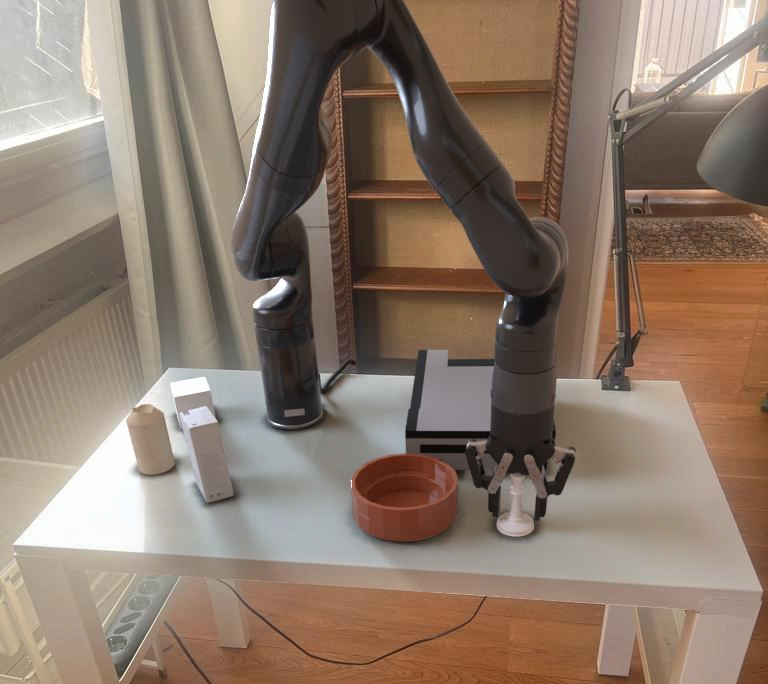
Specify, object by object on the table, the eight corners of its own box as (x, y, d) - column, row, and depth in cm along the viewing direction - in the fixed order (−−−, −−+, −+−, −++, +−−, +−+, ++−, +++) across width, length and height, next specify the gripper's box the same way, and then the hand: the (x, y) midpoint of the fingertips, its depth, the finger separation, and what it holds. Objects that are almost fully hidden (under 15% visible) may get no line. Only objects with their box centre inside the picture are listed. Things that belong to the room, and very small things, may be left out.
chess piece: (492, 517, 105) (495, 452, 100) (529, 514, 106) (533, 449, 100) (500, 538, 101) (503, 472, 96) (538, 535, 102) (543, 469, 96)
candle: (165, 476, 119) (151, 417, 113) (132, 474, 120) (116, 415, 114) (180, 458, 123) (167, 400, 118) (148, 456, 124) (134, 398, 119)
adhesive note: (211, 408, 138) (205, 376, 134) (216, 422, 133) (210, 390, 129) (176, 414, 136) (169, 382, 133) (180, 429, 131) (173, 397, 128)
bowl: (369, 482, 114) (366, 449, 111) (465, 491, 111) (466, 457, 108) (340, 538, 103) (337, 503, 100) (447, 550, 100) (447, 514, 97)
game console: (536, 386, 138) (539, 342, 134) (551, 481, 112) (555, 431, 108) (419, 386, 141) (418, 343, 136) (406, 480, 114) (405, 430, 110)
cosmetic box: (235, 496, 113) (221, 421, 106) (205, 504, 112) (189, 429, 105) (223, 476, 118) (209, 404, 111) (194, 484, 116) (178, 411, 109)
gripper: (586, 387, 94) (573, 505, 104) (468, 380, 98) (467, 495, 107) (583, 416, 89) (570, 538, 98) (458, 407, 92) (457, 526, 101)
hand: (516, 515), depth 103 cm, fingers open, 4 cm apart
